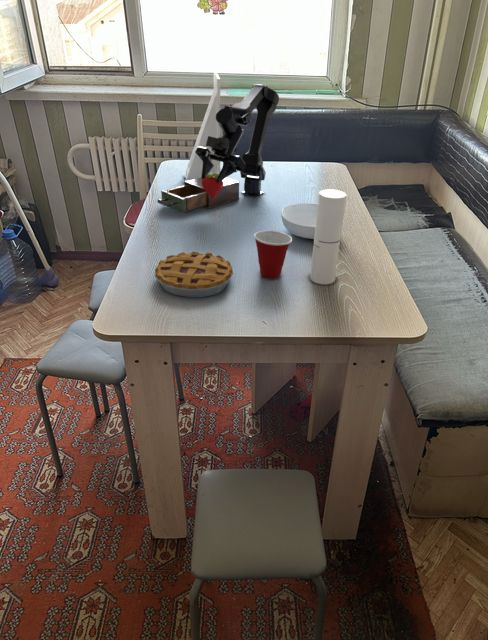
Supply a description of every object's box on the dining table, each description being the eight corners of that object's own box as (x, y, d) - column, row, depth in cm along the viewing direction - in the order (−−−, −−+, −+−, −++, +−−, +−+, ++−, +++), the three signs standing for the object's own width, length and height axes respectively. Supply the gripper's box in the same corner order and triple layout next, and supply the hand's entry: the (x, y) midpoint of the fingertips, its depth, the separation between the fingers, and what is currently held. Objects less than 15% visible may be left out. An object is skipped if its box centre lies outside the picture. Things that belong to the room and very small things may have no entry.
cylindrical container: (327, 286, 149) (339, 200, 135) (305, 279, 152) (314, 194, 138) (338, 277, 154) (350, 193, 140) (317, 270, 157) (326, 187, 143)
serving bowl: (267, 232, 180) (268, 212, 176) (305, 217, 193) (307, 199, 189) (315, 251, 168) (317, 231, 164) (352, 234, 181) (355, 215, 177)
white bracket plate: (183, 172, 230) (179, 69, 207) (216, 172, 232) (216, 70, 209) (185, 187, 214) (180, 77, 191) (220, 187, 216) (220, 78, 193)
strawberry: (202, 195, 188) (201, 166, 182) (223, 195, 188) (223, 167, 183) (201, 201, 183) (201, 172, 177) (223, 201, 184) (223, 172, 178)
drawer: (174, 216, 186) (173, 202, 183) (152, 207, 192) (151, 193, 189) (214, 203, 198) (214, 190, 195) (193, 195, 204) (192, 182, 201)
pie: (163, 262, 157) (162, 246, 155) (236, 266, 157) (236, 250, 155) (147, 298, 140) (146, 281, 137) (230, 302, 140) (230, 285, 137)
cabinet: (208, 208, 196) (208, 190, 192) (185, 199, 203) (184, 181, 199) (238, 198, 206) (239, 181, 202) (215, 190, 213) (215, 173, 209)
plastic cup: (297, 275, 154) (300, 236, 148) (272, 286, 148) (274, 247, 141) (269, 262, 160) (271, 225, 153) (244, 273, 154) (245, 234, 147)
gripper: (197, 121, 179) (177, 161, 178) (241, 131, 171) (220, 173, 170) (212, 141, 189) (193, 179, 188) (254, 151, 180) (234, 191, 179)
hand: (209, 180), depth 181 cm, fingers closed on strawberry, 6 cm apart
